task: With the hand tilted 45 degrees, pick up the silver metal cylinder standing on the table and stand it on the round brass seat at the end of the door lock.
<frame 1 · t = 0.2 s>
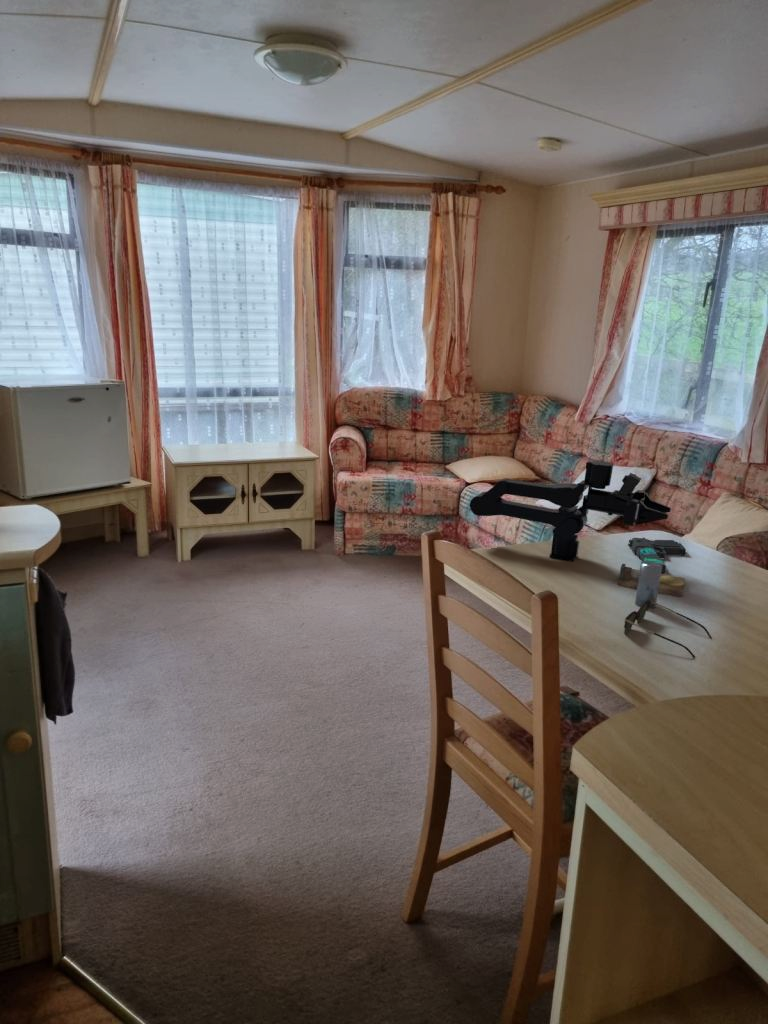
hand: (669, 513, 183), 17 cm above the table, tool horizontal, fingers open, 9 cm apart
silver metal cylinder: (645, 604, 166), on the table
handgun: (662, 561, 199), on the table
sunglasses: (667, 639, 150), on the table
door lock: (651, 583, 180), on the table
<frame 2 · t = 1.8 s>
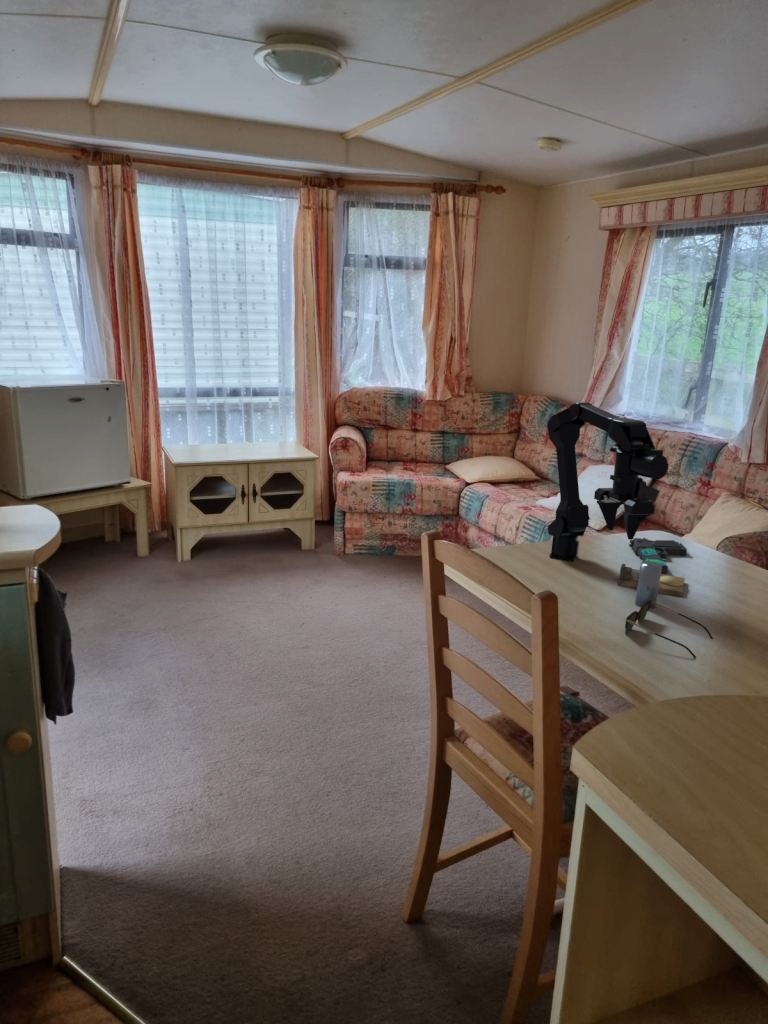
hand: (620, 534, 176), 13 cm above the table, tool pointing down, fingers open, 9 cm apart
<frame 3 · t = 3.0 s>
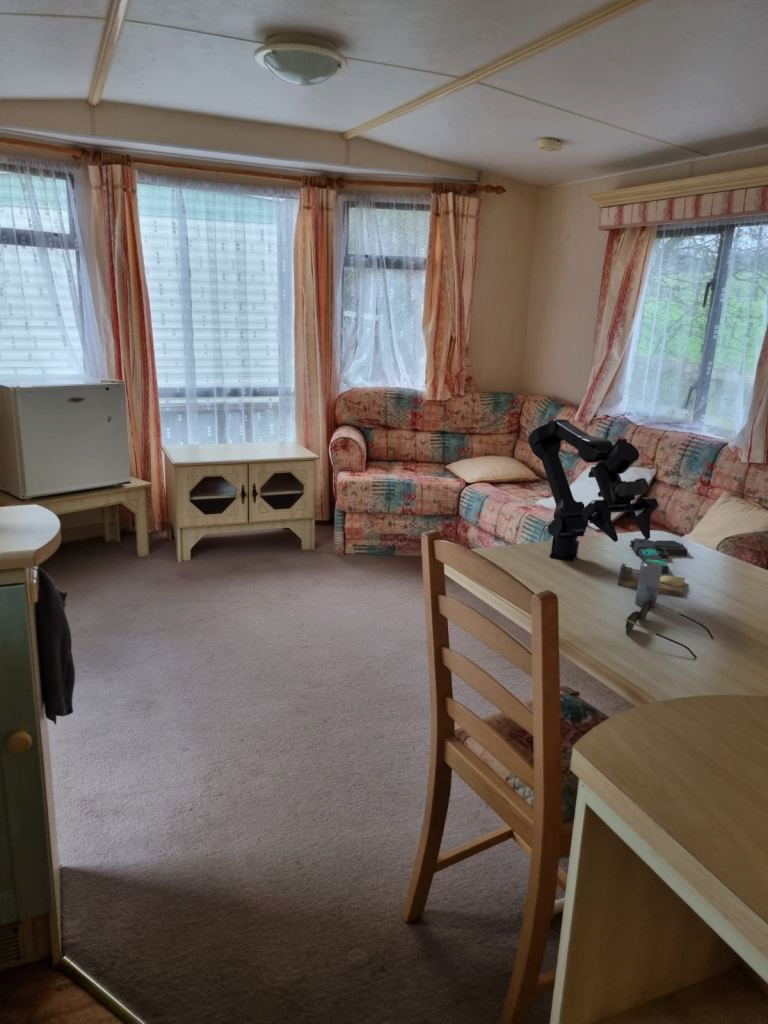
hand: (632, 539, 169), 13 cm above the table, tool tilted 45°, fingers open, 9 cm apart
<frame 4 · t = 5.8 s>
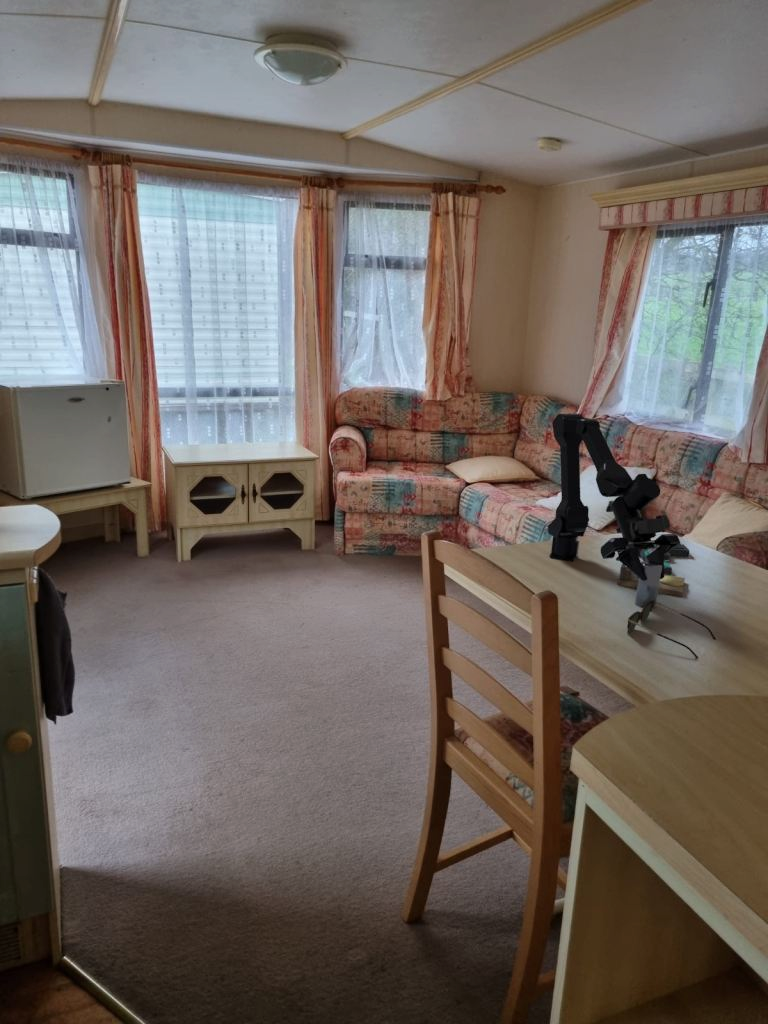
hand: (653, 579, 163), 7 cm above the table, tool tilted 45°, fingers closed on silver metal cylinder, 5 cm apart
silver metal cylinder: (645, 604, 166), on the table, touching gripper
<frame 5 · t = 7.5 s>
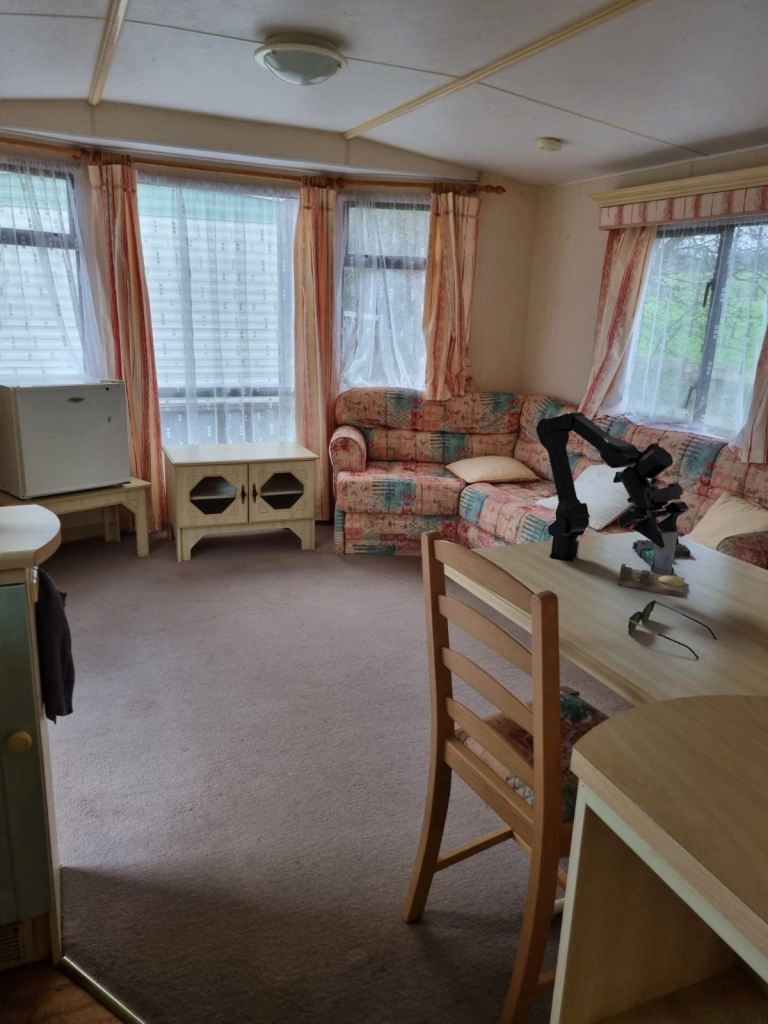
hand: (670, 545, 166), 13 cm above the table, tool tilted 45°, fingers closed on silver metal cylinder, 5 cm apart
silver metal cylinder: (660, 571, 169), point 6 cm above the table, touching gripper
when the fingers open (9 cm above the table, at t = 9.6 s): silver metal cylinder stays where it is, resting on door lock.
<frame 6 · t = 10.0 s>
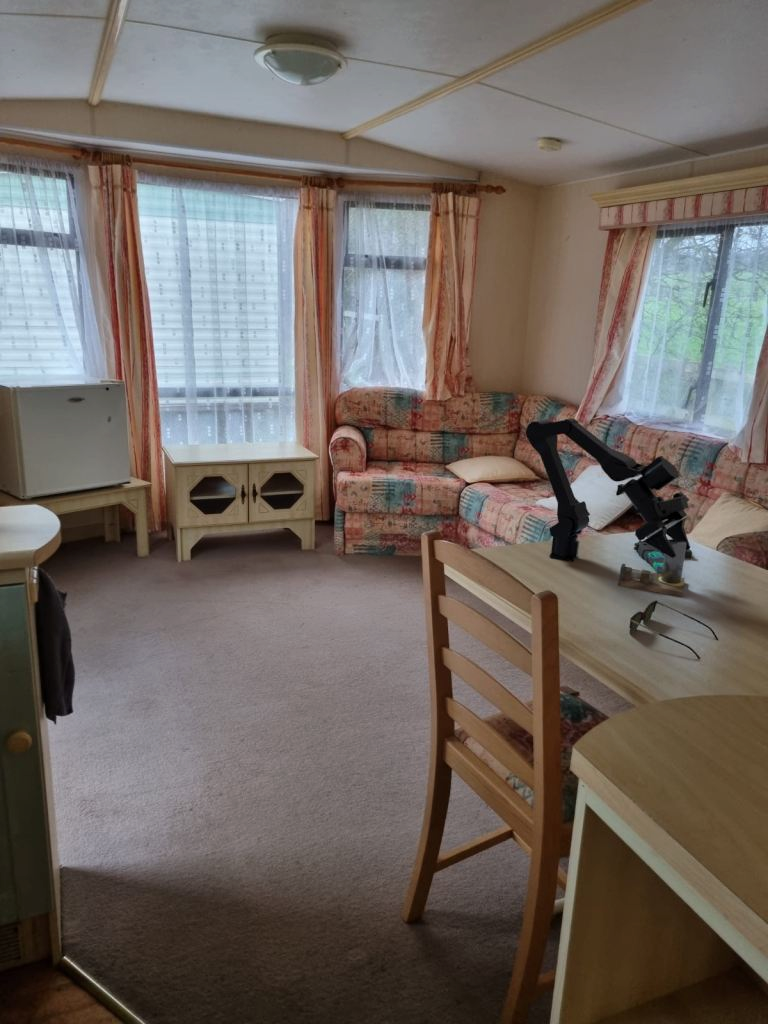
hand: (681, 552, 175), 9 cm above the table, tool tilted 45°, fingers open, 9 cm apart
silver metal cylinder: (670, 580, 178), point 2 cm above the table, touching door lock
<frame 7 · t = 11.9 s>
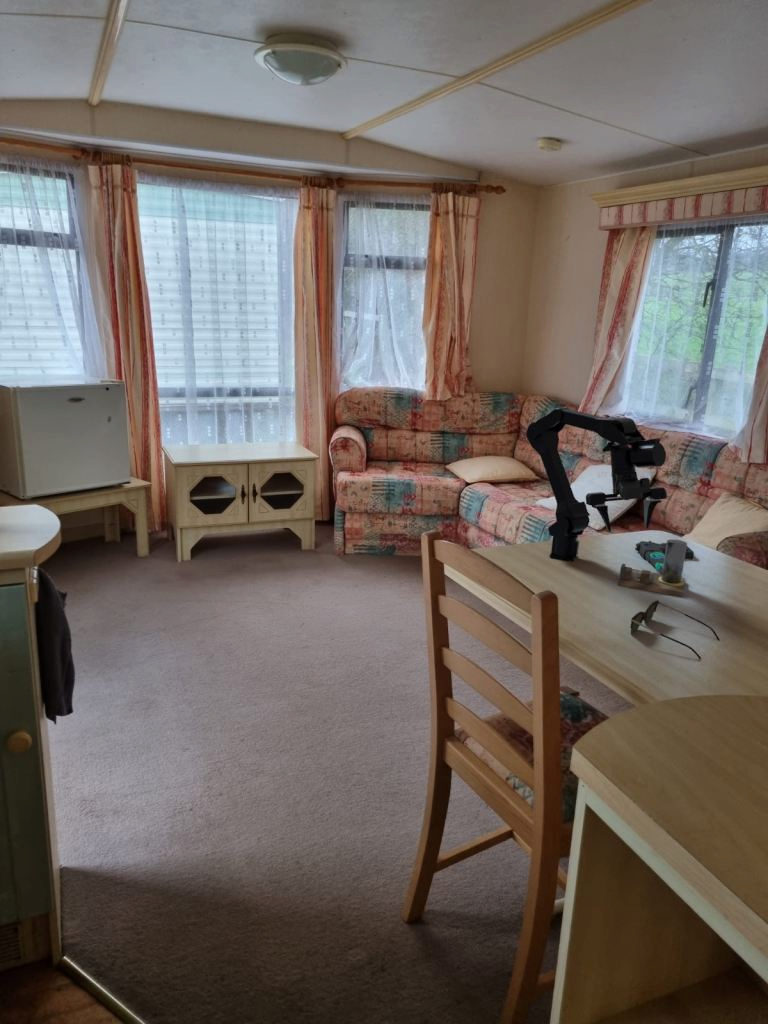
hand: (628, 530, 180), 13 cm above the table, tool pointing down, fingers open, 9 cm apart
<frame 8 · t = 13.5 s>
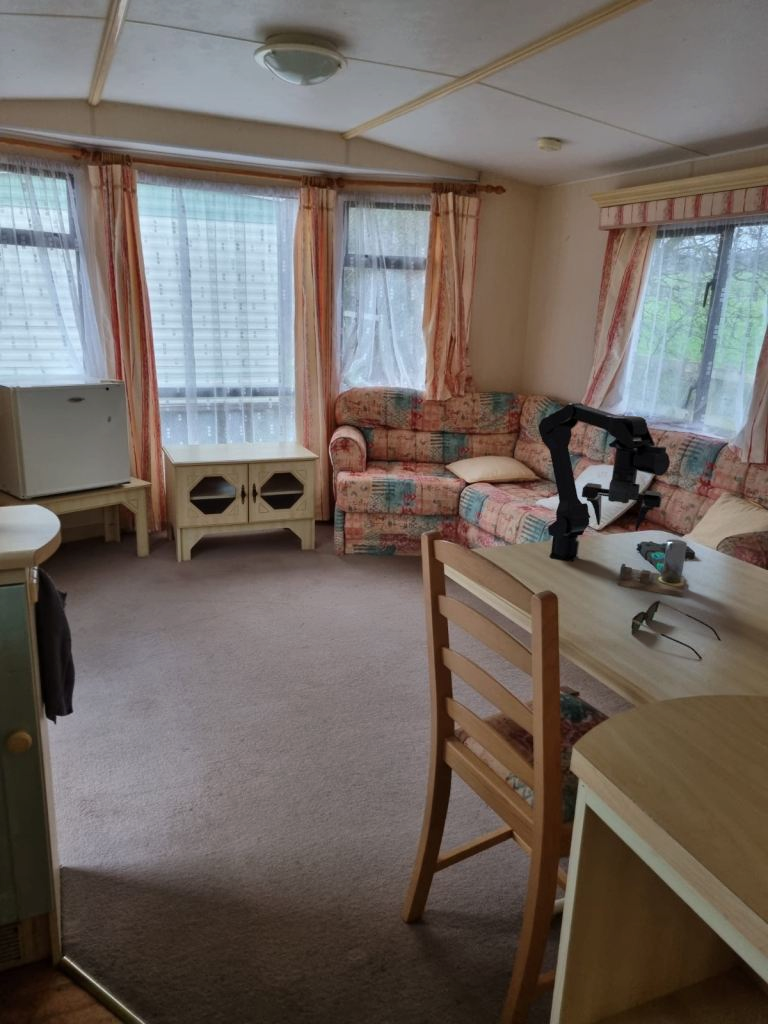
hand: (617, 527, 180), 13 cm above the table, tool pointing down, fingers open, 9 cm apart
at the end: silver metal cylinder 0.1 cm from the target spot on the door lock, point 1.6 cm above the door lock's base; silver metal cylinder tilted 0°; the gripper is holding nothing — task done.
